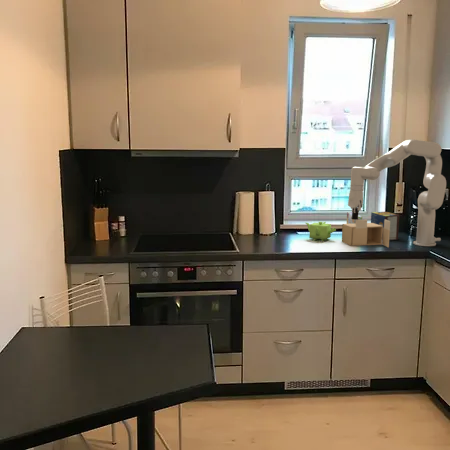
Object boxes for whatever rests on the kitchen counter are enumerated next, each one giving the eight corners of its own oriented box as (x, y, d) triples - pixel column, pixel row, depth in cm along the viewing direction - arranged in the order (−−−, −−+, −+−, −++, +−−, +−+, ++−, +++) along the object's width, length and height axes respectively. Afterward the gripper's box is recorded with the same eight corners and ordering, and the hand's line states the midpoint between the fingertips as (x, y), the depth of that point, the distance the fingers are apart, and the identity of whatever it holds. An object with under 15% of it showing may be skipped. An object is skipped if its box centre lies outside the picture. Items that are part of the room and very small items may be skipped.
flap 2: (381, 244, 312) (383, 219, 310) (382, 244, 312) (384, 219, 310) (387, 247, 303) (389, 221, 301) (388, 247, 303) (390, 221, 301)
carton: (371, 240, 325) (372, 222, 323) (381, 244, 313) (382, 226, 312) (341, 241, 320) (342, 223, 319) (350, 245, 309) (351, 227, 307)
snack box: (361, 241, 323) (362, 216, 321) (352, 241, 323) (353, 216, 321) (353, 234, 344) (355, 211, 342) (345, 234, 344) (346, 211, 342)
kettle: (303, 238, 332) (304, 220, 330) (323, 236, 336) (324, 219, 334) (315, 242, 318) (316, 224, 316) (336, 241, 322) (337, 223, 320)
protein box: (383, 235, 343) (384, 211, 340) (398, 239, 329) (399, 214, 326) (369, 236, 340) (370, 212, 337) (383, 240, 325) (385, 215, 323)
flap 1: (352, 245, 308) (353, 220, 305) (352, 245, 309) (353, 219, 306) (366, 244, 310) (368, 219, 308) (366, 244, 311) (367, 219, 308)
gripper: (345, 186, 314) (343, 217, 317) (357, 189, 300) (354, 221, 303) (356, 186, 316) (354, 217, 319) (369, 189, 302) (366, 221, 305)
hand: (354, 219), depth 311 cm, fingers closed
